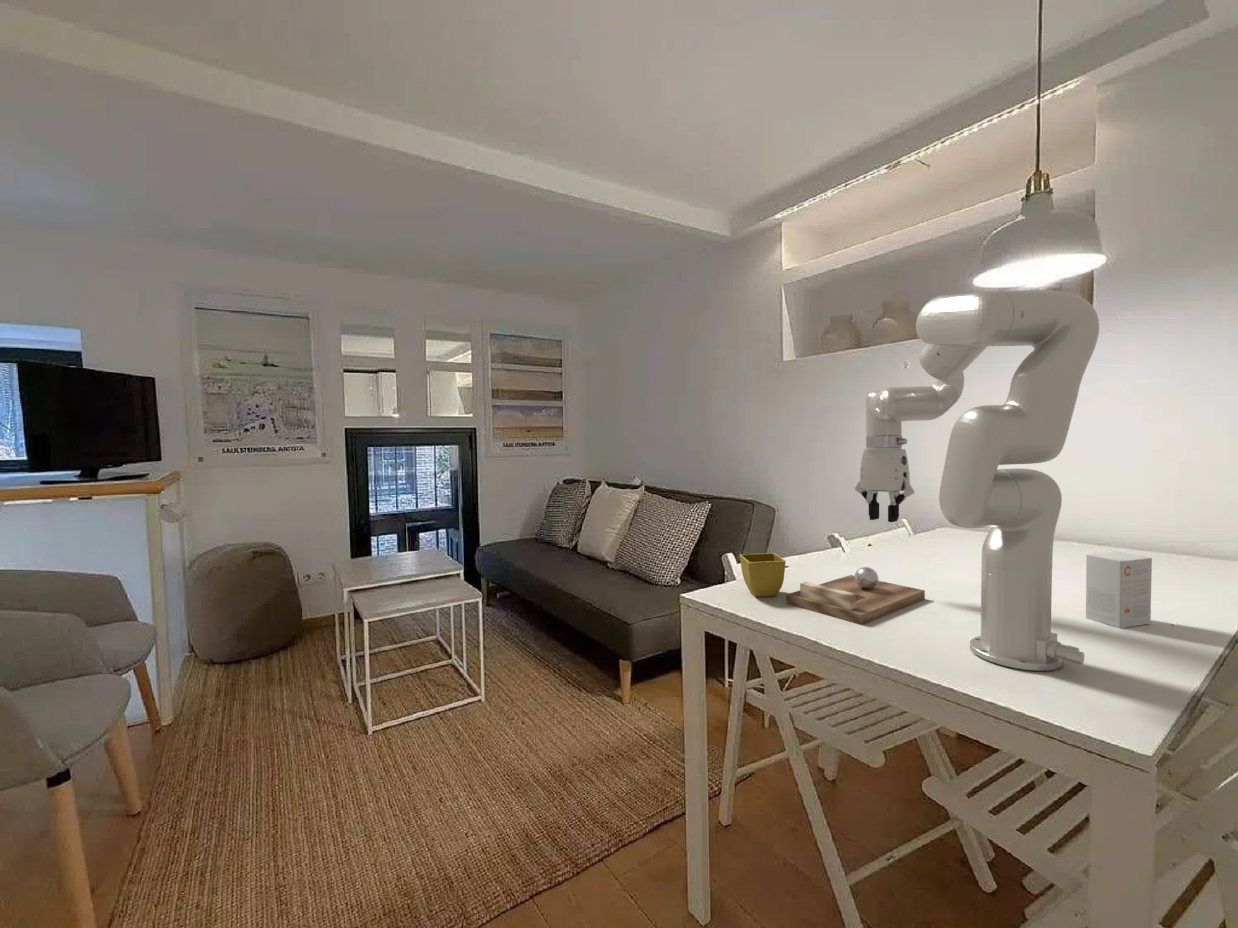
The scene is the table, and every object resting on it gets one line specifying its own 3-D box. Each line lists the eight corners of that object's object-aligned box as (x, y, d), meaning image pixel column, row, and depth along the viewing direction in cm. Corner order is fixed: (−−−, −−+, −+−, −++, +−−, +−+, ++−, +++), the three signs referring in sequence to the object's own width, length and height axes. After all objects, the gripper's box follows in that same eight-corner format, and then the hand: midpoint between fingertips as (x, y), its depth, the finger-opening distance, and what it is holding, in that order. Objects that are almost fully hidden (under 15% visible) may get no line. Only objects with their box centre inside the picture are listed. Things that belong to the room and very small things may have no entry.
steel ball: (882, 589, 124) (882, 567, 124) (870, 593, 121) (870, 571, 121) (862, 584, 128) (862, 563, 128) (850, 588, 125) (850, 567, 125)
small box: (1114, 613, 110) (1115, 550, 109) (1151, 624, 103) (1153, 557, 103) (1084, 618, 108) (1085, 553, 107) (1120, 628, 102) (1122, 560, 101)
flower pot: (749, 600, 125) (748, 562, 124) (739, 589, 133) (739, 553, 133) (786, 599, 125) (786, 560, 124) (774, 588, 134) (774, 552, 133)
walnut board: (924, 598, 122) (924, 577, 122) (861, 624, 107) (861, 599, 107) (850, 582, 137) (850, 563, 137) (786, 603, 122) (786, 581, 121)
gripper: (928, 442, 122) (927, 522, 123) (859, 443, 136) (859, 515, 137) (911, 443, 118) (911, 526, 119) (842, 444, 132) (842, 518, 133)
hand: (883, 519), depth 128 cm, fingers open, 3 cm apart
